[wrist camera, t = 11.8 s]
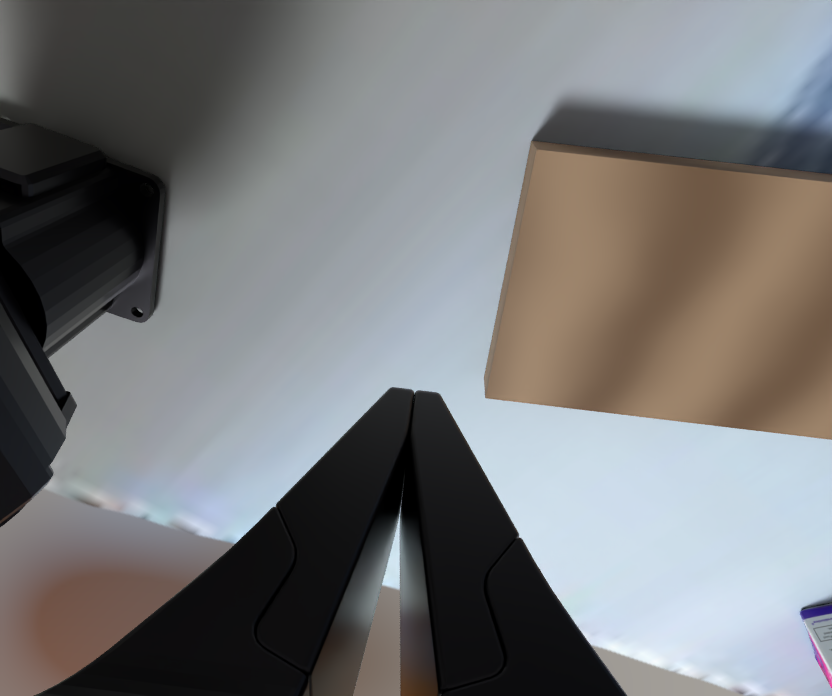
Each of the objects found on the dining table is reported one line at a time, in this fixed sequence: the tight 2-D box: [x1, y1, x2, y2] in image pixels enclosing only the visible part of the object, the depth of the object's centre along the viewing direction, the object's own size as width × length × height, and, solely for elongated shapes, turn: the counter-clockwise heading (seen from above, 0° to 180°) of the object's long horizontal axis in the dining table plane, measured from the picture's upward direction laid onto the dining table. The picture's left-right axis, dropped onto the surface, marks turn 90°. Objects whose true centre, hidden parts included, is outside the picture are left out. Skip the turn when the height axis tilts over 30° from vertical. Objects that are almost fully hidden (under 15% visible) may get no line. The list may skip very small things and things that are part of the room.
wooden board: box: [484, 141, 832, 440], centre depth 19 cm, size 22×10×2 cm, turn 85°
